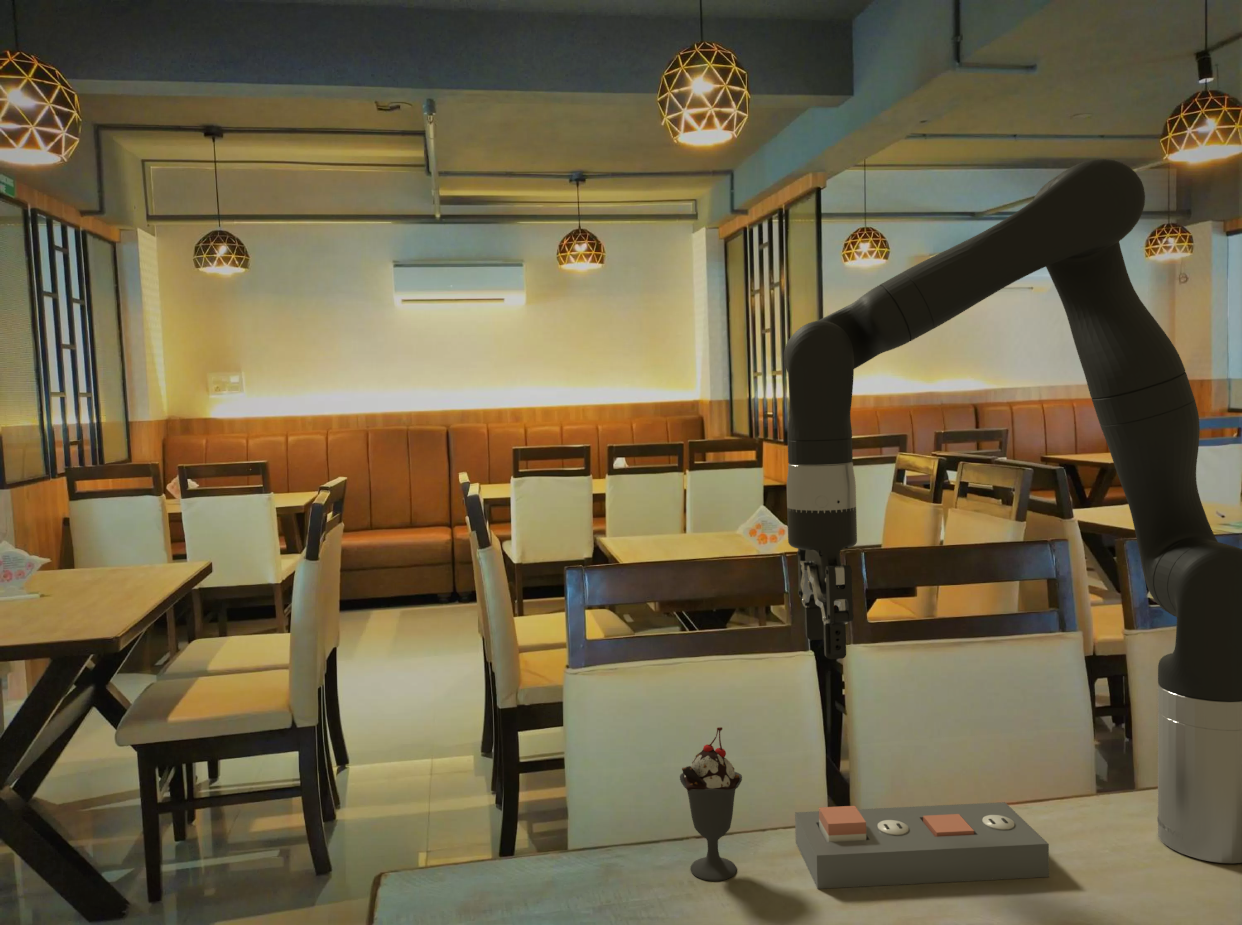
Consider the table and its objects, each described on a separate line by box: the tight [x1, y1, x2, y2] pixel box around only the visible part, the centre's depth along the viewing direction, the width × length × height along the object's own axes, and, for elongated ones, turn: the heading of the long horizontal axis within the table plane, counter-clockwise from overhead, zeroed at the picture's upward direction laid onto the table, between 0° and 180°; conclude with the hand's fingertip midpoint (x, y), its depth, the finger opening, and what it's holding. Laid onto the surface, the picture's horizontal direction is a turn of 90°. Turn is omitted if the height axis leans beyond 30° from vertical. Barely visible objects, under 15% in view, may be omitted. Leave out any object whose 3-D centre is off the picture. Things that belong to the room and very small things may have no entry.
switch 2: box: [923, 814, 974, 837], centre depth 99 cm, size 4×4×2 cm
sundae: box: [679, 726, 743, 882], centre depth 98 cm, size 7×7×15 cm
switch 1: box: [818, 805, 866, 842], centre depth 99 cm, size 4×4×2 cm
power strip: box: [794, 801, 1050, 890], centre depth 99 cm, size 24×10×4 cm, turn 92°
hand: (825, 648), depth 103 cm, fingers open, 8 cm apart
